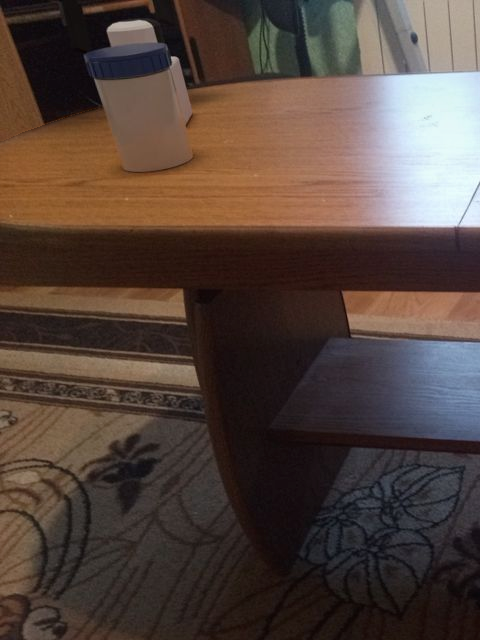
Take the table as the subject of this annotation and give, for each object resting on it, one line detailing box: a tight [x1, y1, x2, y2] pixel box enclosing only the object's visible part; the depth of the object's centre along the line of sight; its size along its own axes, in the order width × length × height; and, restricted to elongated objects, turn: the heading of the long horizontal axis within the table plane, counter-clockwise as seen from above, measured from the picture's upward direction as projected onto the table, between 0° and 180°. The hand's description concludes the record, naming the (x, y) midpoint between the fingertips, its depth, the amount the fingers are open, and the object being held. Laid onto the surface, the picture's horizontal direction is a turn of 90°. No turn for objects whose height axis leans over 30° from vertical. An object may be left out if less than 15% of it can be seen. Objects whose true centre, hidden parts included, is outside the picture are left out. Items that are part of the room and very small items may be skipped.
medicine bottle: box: [105, 17, 193, 127], centre depth 89 cm, size 7×7×12 cm
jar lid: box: [83, 43, 172, 79], centre depth 72 cm, size 8×8×2 cm
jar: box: [93, 67, 194, 173], centre depth 75 cm, size 7×7×11 cm
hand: (123, 37), depth 96 cm, fingers open, 13 cm apart
